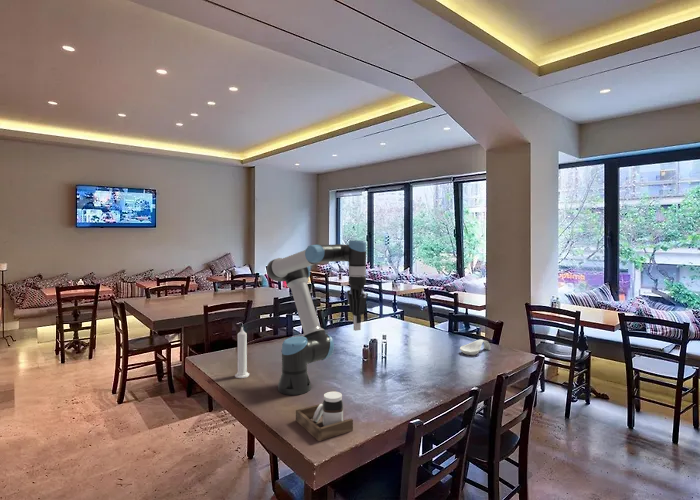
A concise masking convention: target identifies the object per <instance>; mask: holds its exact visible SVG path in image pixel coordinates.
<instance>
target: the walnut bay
mask: <svg viewBox="0 0 700 500" xmlns="http://www.w3.org/2000/svg"><path fill="white" fill-rule="evenodd" d="M320 404H323V402H321V403H319V404H314V405H311V406H307V407H304V408H299V409H296V410H295V422H297V423H298V424H299V425H300V426H301V427H302V428H303V429H305V430H306V431H307V432H308V433H309V434H310V435H311V436H312V437H313V438H314V439H316V440H317V441H318V442H321V441H323V440H328V439H330V438H333V437H334V438H335V437H337V436H341V435H343V434H347V433H350V432H353V431H354V419H353V418H348V419H345V420H344V419H343V421H341V422H338V423H334V424H331V425H327V426H324V427H323V426H322V427H320V426H319V424H316V422H314V421H313V416H314V413H315V411H316V409H317V408H318V406H319V405H320ZM322 416H323V413H322Z"/></svg>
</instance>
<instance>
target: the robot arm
mask: <svg viewBox="0 0 700 500" xmlns="http://www.w3.org/2000/svg"><path fill="white" fill-rule="evenodd" d="M328 262H329V263H330V262H332V263H333V262H334V263H335V262H348V276H349V277H348V285H349V286H350V287H349V288H350V289H349V290H346V293H347V297H348V306H349V312H350V314H351V313H352V320H353V331H361V327H362V326H361V324H362V323H361V322H362V315H363V316H364V315H365V312H366V311H365V310H366V306H367V298H368V296H369V293H367V292H365V285H367V276H366V275H367V268H366V267H367V242H366V241H365V240H363V239H362V240H361V239H359V240H358V239H356V240H354V239H353V240H349V241H348V244H341V243H339V244H337V243H335V244H310V245H308V246H307V248H305V250H302V251H299V252H295V253H294V254H290V255H288V256H286V257H283V258H282V257H277V258H274V259H272V260H270V261H269V262H268V263H267V266H266V274H267V276H268V277H269V278H270V279H271V280H273V281H275V282H285V283H286V287H288V288H290V290H291V294H292V297H293V300H294V304H295V307H296V310H297V313H298V316H299V317H298V318H299V320H300V324H301V327H302V331H303V334H302V335H298V336H292V337H288V338H285V339H284V340H283V341H282V343H281V374H280V377H279V381H278V382H277V383H278V384H277V391H278V392H279V393H280V394H283V395H288V396H296V395H303V394H306V393H308V392H309V391H310V390H311V389H312V386H311V380H310V379H311V378H310V376H309V374H308V364H312V363H316V362H319V361H324V360H327V359H329V358H330V357H331V356H332V355H333V353H334V349H335V343H334V342H335V341H334V339H333V337H332V336H331V335H330V334H328V333H326V330H325V329H324V328H322V327H321V324H320V322H319V321H320V320H319V318H318V314H317V312H316V307H315V306H314V302H313V298H312V296H311V293H310V292H311V291H310V288H309V286H308V282H309V278H310V276H311V267H312V266H314V265H317V264H320V263H328Z"/></svg>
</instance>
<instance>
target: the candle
mask: <svg viewBox="0 0 700 500" xmlns="http://www.w3.org/2000/svg"><path fill="white" fill-rule="evenodd" d="M236 335H237V338H236V339H237V373H235V374H234V377H235V378H237V379H245V378H248V377H250V372H248V367H247V366H248V359H247V358H248V356H247V355H248V344H247V343H248V341H247V338H248V336H247V332H246V331H245V330H244V328H243V326H241V328H240V331H239V332H238V333H237V334H236Z"/></svg>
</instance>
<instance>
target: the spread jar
mask: <svg viewBox="0 0 700 500" xmlns="http://www.w3.org/2000/svg"><path fill="white" fill-rule="evenodd" d="M342 398H343V393H341V392H339V391H328V392H325V393H324V394H323V401H322V403H323V404H322V403H319V404H320V405H319V406H318V408H317V409H316V411H315V413H314V416H313V418H312V421H313V422H314V423H318V422H319V420H321V418H322V427H324V426H327V425H331V424H334V423H338V422H341V421H344V403H343V399H342ZM322 413H323V415H322Z"/></svg>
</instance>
